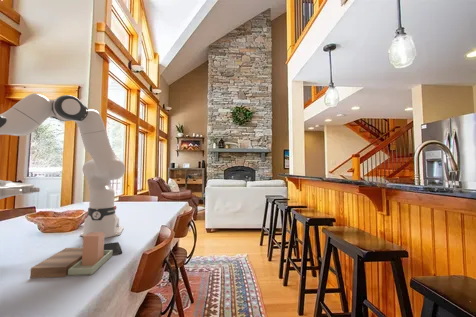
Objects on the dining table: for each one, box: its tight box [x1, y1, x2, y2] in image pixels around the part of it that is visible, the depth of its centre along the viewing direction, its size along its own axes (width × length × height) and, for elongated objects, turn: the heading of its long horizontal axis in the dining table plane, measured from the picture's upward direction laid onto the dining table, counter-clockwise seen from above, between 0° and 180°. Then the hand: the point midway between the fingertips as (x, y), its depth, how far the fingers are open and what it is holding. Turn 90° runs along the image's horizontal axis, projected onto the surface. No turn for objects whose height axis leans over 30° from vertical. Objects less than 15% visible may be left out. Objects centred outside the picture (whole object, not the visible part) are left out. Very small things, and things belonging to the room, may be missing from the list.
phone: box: [104, 241, 123, 256], centre depth 100 cm, size 8×1×15 cm
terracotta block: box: [82, 232, 105, 266], centre depth 85 cm, size 5×5×10 cm
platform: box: [29, 247, 83, 279], centre depth 84 cm, size 19×10×3 cm, turn 8°
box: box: [67, 250, 113, 277], centre depth 85 cm, size 18×7×2 cm, turn 8°
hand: (30, 190), depth 91 cm, fingers open, 8 cm apart
